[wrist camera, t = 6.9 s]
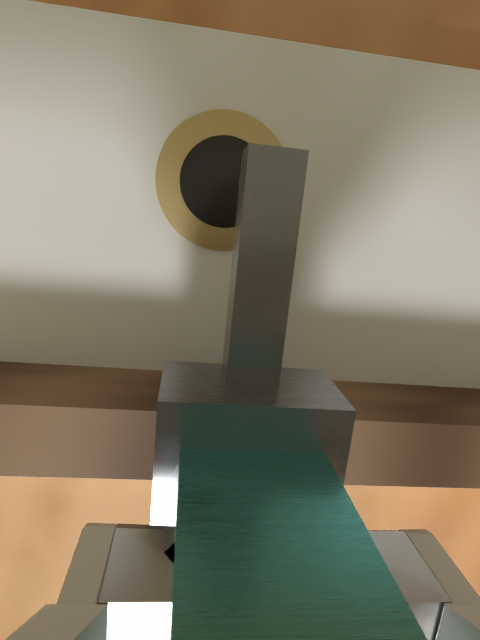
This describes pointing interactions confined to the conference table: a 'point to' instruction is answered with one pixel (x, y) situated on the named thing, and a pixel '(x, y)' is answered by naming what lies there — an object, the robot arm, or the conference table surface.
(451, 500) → the conference table surface
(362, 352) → the bolt plate
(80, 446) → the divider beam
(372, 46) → the conference table surface
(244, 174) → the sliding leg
